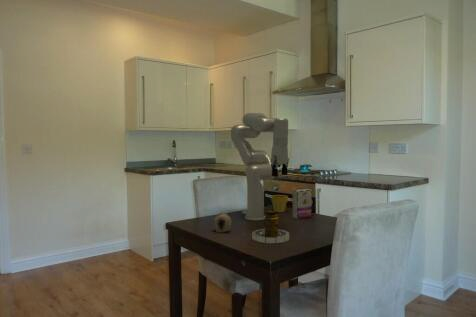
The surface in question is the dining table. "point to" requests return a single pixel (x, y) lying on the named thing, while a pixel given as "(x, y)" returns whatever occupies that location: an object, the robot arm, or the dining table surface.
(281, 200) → the plant pot
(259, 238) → the faceted plate
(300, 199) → the candy bar box
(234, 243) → the dining table surface
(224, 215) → the garlic bulb
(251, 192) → the robot arm
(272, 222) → the condiment
